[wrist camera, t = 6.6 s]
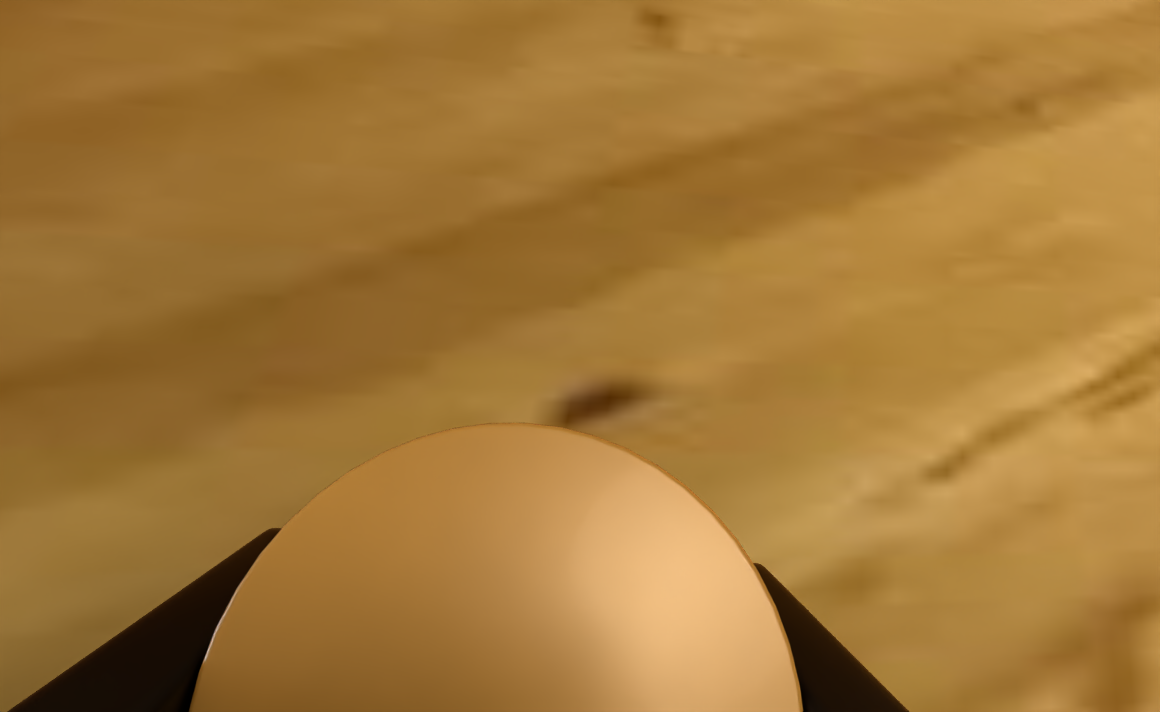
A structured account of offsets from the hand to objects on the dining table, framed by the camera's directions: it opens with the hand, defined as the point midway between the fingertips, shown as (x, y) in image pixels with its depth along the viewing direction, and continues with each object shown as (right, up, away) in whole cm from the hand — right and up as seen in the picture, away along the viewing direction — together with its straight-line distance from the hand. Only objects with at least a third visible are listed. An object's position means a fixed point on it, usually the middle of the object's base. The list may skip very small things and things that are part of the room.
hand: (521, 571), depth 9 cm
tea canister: (-1, -3, +6) cm, 7 cm away
